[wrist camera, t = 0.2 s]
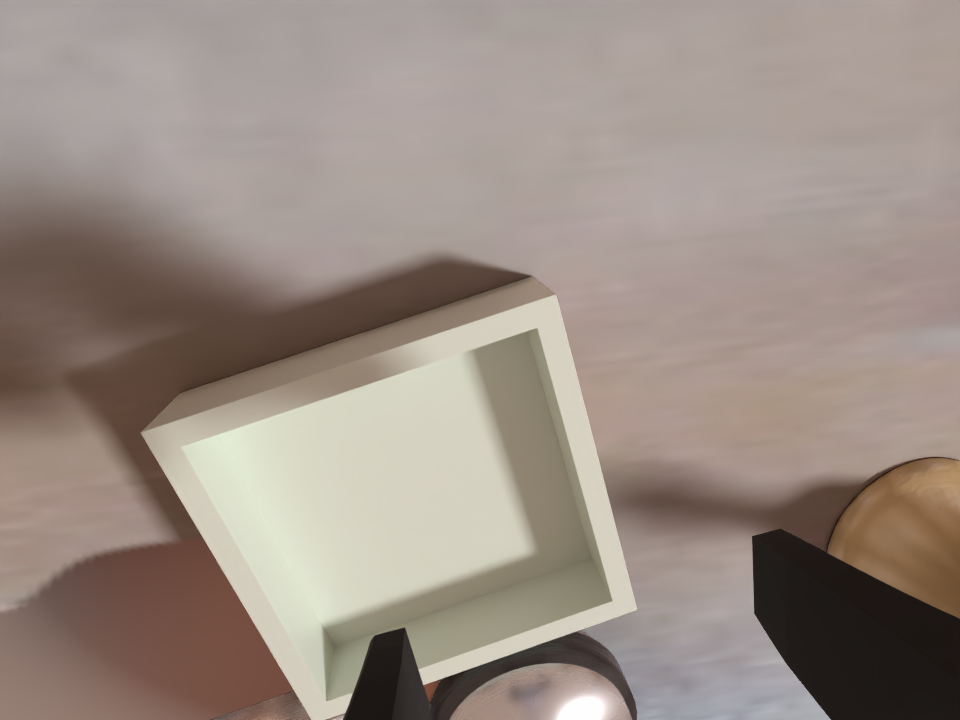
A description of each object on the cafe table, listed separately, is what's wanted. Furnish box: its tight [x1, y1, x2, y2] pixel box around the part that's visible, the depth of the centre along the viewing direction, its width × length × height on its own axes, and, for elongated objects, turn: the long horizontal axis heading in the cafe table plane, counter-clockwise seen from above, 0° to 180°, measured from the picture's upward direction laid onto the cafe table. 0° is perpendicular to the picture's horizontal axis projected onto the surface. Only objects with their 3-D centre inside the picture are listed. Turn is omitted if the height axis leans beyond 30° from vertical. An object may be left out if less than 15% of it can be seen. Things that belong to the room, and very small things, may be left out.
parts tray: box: [141, 276, 637, 720], centre depth 19 cm, size 13×13×3 cm
